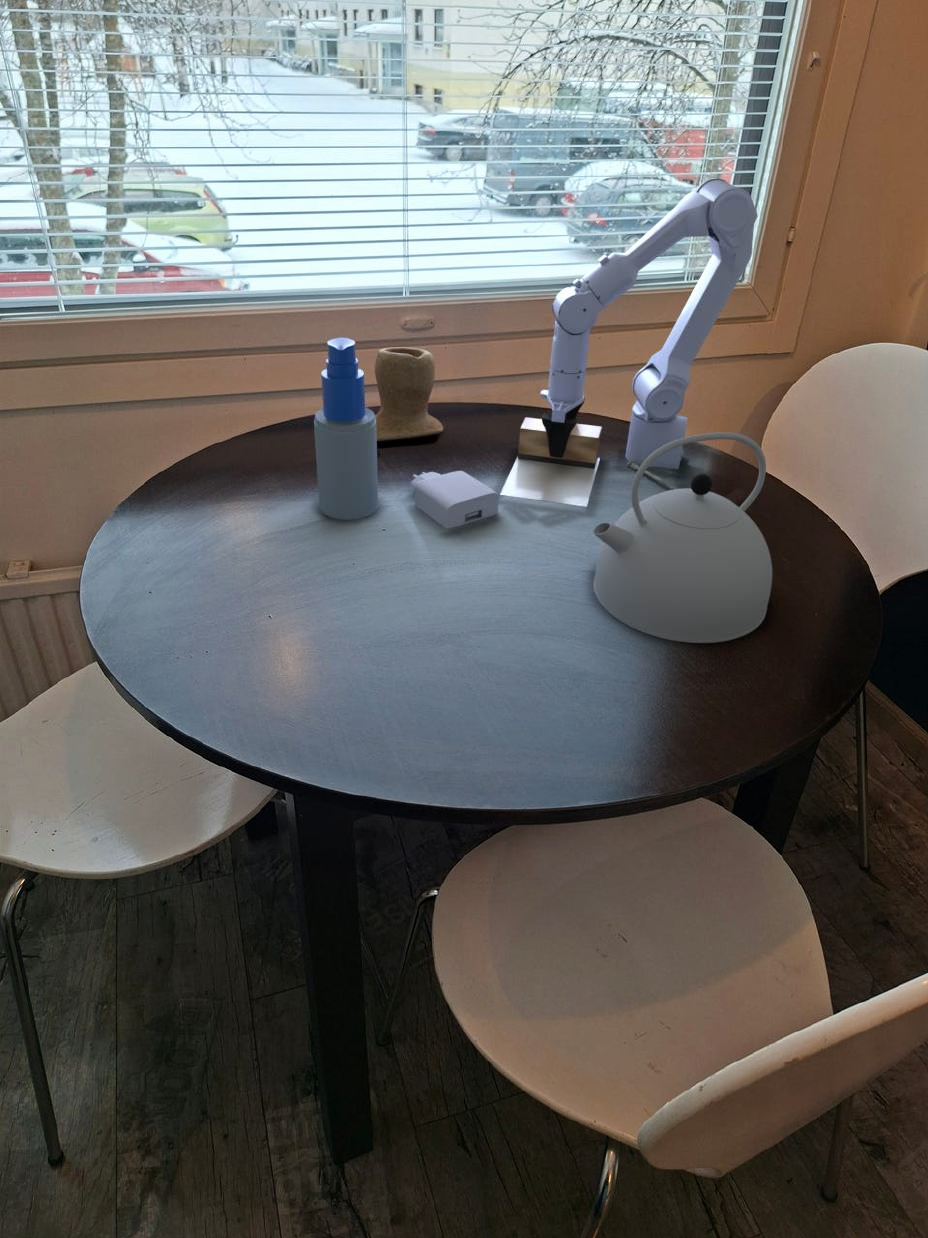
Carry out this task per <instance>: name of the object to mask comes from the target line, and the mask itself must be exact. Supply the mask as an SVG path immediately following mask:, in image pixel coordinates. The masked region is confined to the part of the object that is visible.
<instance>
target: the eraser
mask: <svg viewBox="0 0 928 1238" xmlns="http://www.w3.org/2000/svg"><path fill="white" fill-rule="evenodd" d="M602 429H603V427H602V426H599V425H590V424H583V423H576V425H575V427H574V428H573V430H572V431H571V433H570V435H569V438H568V442H567V446H566V449H565V452H564V455H563V457H562V458H557V457H551V456H550V453H549V446H548V437H547V433H546V430H545V427H544V425H543V423H542V418H536V417H535V418H534V417H526V416H525V417H524V419H523V421H522V423H521V425H520V428H519V438H518V450H517V457H518V459H523V460H531V461H538V462H546V463H554V464H561V465H569V466H576V467H584V468H592V469H595V466H596V462H597V458H599V453H600V452H599V451H600V445H601V436H602Z"/></svg>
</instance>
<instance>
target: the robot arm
mask: <svg viewBox="0 0 928 1238" xmlns="http://www.w3.org/2000/svg"><path fill="white" fill-rule="evenodd" d="M758 217H759V215H758V212H757V209H756V206H755V204H754V200H753V198H752V196H751V194H750V193H749V192H748V191H747V190H745V189H743V188H740V187H738V186H735V185H732V184H730V183H729V182H727V180H726V179H723V178H719V177H712V178H709V179H707V180H705V181H703V182H702V183H701V184H699V186H698V187H697V188H696V189H695V190H692V191H690V192H689V193H687V194H685V196H684V197H683V198H682V199H681V200H680V201H679V203H677V204H676V205H675V207H674V208H673V209H671V210H670V211H669V212H668V213H667V214H666V215H665V216H664V217H662V219H660V220H659V221H658V222H657V223H656V224H655V225H654V226H653V227H652V228H651V229H650V230H649V231H647V232H646V233H645V234H644V235H643V236H642V237H641V238H639V240H638V241H636V242H635V243H634V244H633V245H632V246H631V247H629V249H628V250H626V252H611V254H609V255H608V256H607V255H606V254H603V255H601V257H599V258H598V260H597V261H598V263H599V264H597V265H596V266H595V267H594V268H592V269H591V270H590V271H589V272H587V273H586V274H585V275H584V276H583V277H582V278H580V279H579V278H576V279H575V280H573V282H572V285H573V286H570V287H564V288H563V289H561V290H560V291H559V292H558V293H557V294H556V296H555V299H554V300H553V303H551V312H552V314H553V316H554V318H555V319H556V320H555V321H554V329H553V337H552V344H551V353H550V365H549V374H548V375H549V376H548V385H547V386H548V388H547V389H542V390H541V391H540V393H539V398H541V399H546V401H547V403H548V406H549V407H550V408H551V413H547V412H543V414H542V416H541V419H542V423H543V425H544V427H545V430H546V433H547V437H548V446H549V453H550V456H551V457H557V458H562V457H563V455H564V452H565V449H566V446H567V442H568V438H569V435H570V433H571V431H572V430H573V428H574V427H575V425H576V424H578V418H577V416H578V414H579V411H580V409H581V408H582V407H583V405H584V404H585V400H586V398H585V394H584V391H585V381H586V372H587V364H588V363H587V362H588V356H589V347H590V331H591V329H592V328H593V327H594V326H595V324H596V322H597V320H598V315H599V313H601V312H603V311H604V310H605V309H607V308H608V307H610V305H611V304H613V303H614V302H616V301H617V300H618V299H619V298H620V297H622V295H624V294H625V293H626V292H628V291H629V290H630V289H631V288H633V286H635V285H636V283H637V278H638V274H639V273H640V272H639V271H641V270H643V269H644V268H645V267H646V266H647V265H649V264H650V263H652V262H653V261H654V260H656V259H657V258H658V257H659V256H661V255H662V254H664V253H665V252H667V251H668V250H669V249H670V248H672V247H673V246H674V245H676V244H677V243H678V242H680V241H681V240H683V239H684V238H693V237H694V238H695V237H707V239H708V244H709V246H710V250H711V253H712V254H711V257H710V259H709V261H708V262H707V265H706V266H705V268H704V269H703V272H702V274H701V276H700V277H699V279H698V282H697V283H696V285H695V287H694V288H693V290H692V292H691V294H690V296H689V297H688V300H687V302H686V303H685V306H684V307H683V309H682V311H681V312H680V314H679V316H678V318H677V320H676V322H675V323H674V326H673V327H672V329H671V331H670V333H669V335H668V337H667V339H666V340H665V342H664V343H663V346H662V348H661V349H660V350H659V351H657V352H656V353H654V354H653V355H651V356H650V358H649V360H648V362H647V363H646V364H645V366H643V367H642V368H641V369H639V370H638V371H637V372H636V374H635V375H634V377H633V379H632V383H631V390H632V393H633V395H634V396H635V398H636V400H635V403H634V405H633V406H632V410H631V416H630V422H629V429H628V436H627V441H626V442H627V443H626V450H625V459H626V460H627V461H628V462H630V461H634V462H635V464H636V465H638V466H639V467H640V466H641V465H642V463H643V462H644V461H645V460H646V459H647V458H648V456H649V455H651V454H652V453H653V452H654V451H656V450H657V449H659V448H660V447H662V446H664V445H666V444H668V443H670V442H672V441H675V440H678V439H681V438H684V437H686V432H687V431H686V430H687V424H688V417H687V416H682V415H680V412H681V410H682V409H683V407H684V403H685V393H686V391H687V389H688V387H689V385H690V379H691V366H692V364H693V363H694V361H695V358H696V357H697V355H698V353H699V352H700V350H701V348H702V346H703V345H704V343H705V341H706V339H707V337H708V335H709V334H710V332H711V330H712V328H713V327H714V325H715V323H716V322H717V320H718V318H719V316H720V315H721V312H722V311H723V309H724V307H725V306H726V303H727V302H728V300H729V298H730V296H731V295H732V293H733V291H734V290H735V288H736V286H737V284H738V282H739V280H740V279H741V277H742V275H743V274H744V271H746V268H747V267H748V264H749V263H750V260H751V258H752V254H753V243H754V241H753V240H754V229H755V224H756V220H757V219H758ZM683 447H684V445H681V446H678V447H676V448H673V449H671V450H669V451H667V452H665V453H663V454H662V455H660V456H659V457H658V458H656V459H655V460H654V461H653V462H652V463H651V464H650V465H649V466H648V468H663V469H670V470H680V469H679V468H680V464H681V461H682V460H683V456H684V449H683Z"/></svg>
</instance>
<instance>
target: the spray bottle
mask: <svg viewBox="0 0 928 1238" xmlns="http://www.w3.org/2000/svg"><path fill="white" fill-rule="evenodd" d="M326 344H327V358H326V359H325V364H326V365H325V366H326V368H325V369H323V370H322V371H321V374H320V377H321V393H322V394H321V395H322V408H320V409H318V410H317V411H316V412H315V415H314V420H313V428H314V429H313V430H314V444H315V459H316V474H317V475H316V476H317V488H318V489H317V490H318V505H319V509H320V511H321V513H323V514H324V515H325V516H327V517H329V518H333V519H338V520H359V519H363V518H366V517H369V516H371V515H372V514H374V513H375V512H376V511H377V510H378V509H379V487H378V486H379V484H378V483H379V482H378V481H379V480H378V445H377V444H378V441H377V436H376V419H375V415H376V414H375V412H374V410H372V409H370V408H368V407H366V396H365V395H366V394H365V392H366V391H365V371H363V369H361V368H359V360H358V358H357V357H356V341H354V340H353V339H350V338H349V337H335V338H333V339H329V340H328V341H327V342H326Z"/></svg>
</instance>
